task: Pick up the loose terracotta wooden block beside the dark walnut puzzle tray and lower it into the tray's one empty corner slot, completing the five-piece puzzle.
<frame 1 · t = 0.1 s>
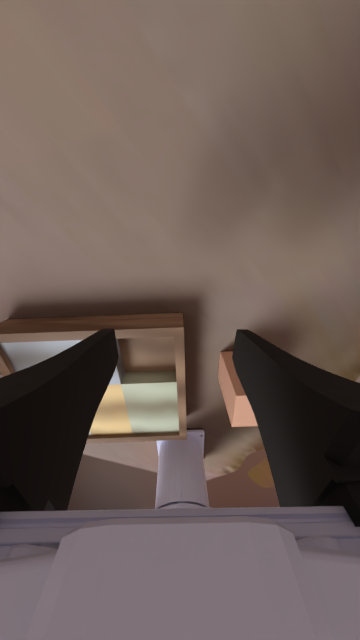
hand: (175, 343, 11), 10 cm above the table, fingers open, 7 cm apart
puzzle tray: (110, 375, 25), on the table
terracotta block: (236, 365, 25), on the table
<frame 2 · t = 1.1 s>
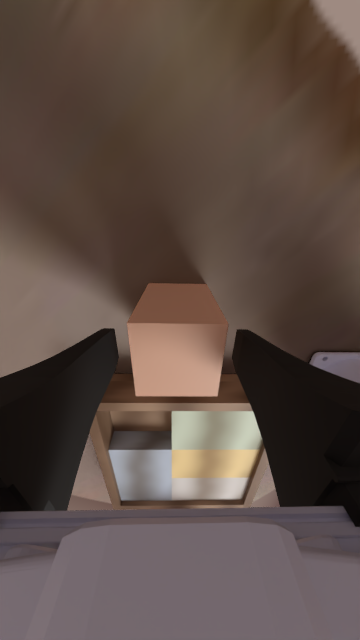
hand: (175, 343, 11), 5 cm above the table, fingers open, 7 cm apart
puzzle tray: (183, 435, 23), on the table
terracotta block: (177, 310, 16), on the table
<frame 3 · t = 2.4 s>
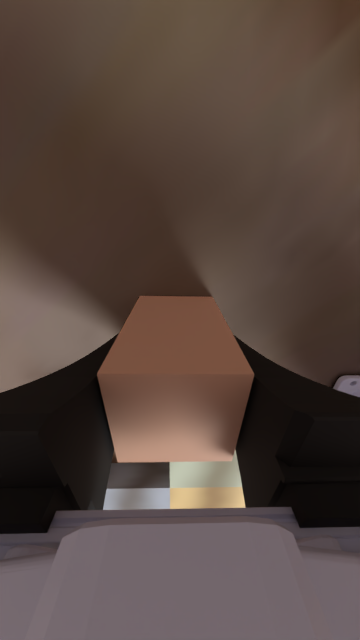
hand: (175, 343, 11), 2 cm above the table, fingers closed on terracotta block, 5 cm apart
puzzle tray: (183, 464, 20), on the table
terracotta block: (175, 328, 13), on the table, touching gripper
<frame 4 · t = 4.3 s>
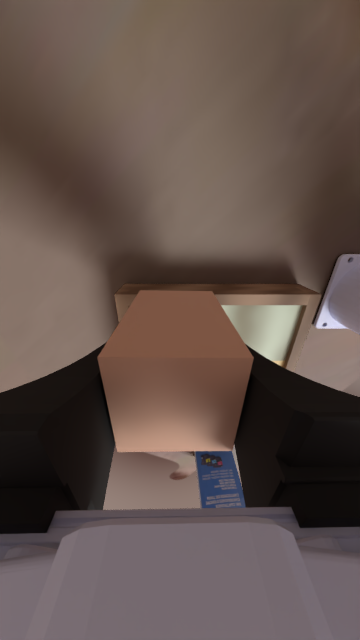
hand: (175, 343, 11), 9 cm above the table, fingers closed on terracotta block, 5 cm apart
ink cartridge box: (210, 439, 31), on the table
puzzle tray: (205, 361, 23), on the table
terracotta block: (175, 322, 13), point 7 cm above the table, touching gripper
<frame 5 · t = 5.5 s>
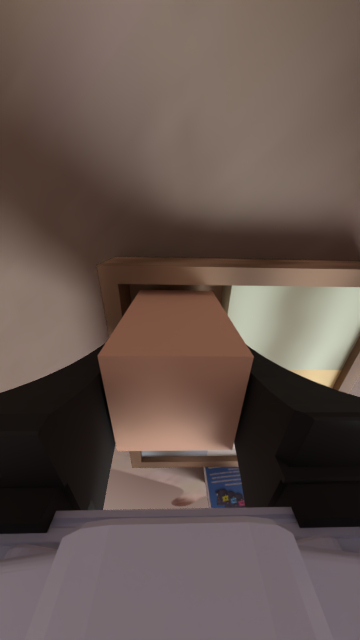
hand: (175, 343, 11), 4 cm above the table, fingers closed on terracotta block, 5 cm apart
ink cartridge box: (222, 462, 25), on the table
puzzle tray: (224, 367, 18), on the table
terracotta block: (175, 322, 13), point 2 cm above the table, touching gripper
when the fingers open (4 cm above the table, at t = 6.4 s): terracotta block drops 1 cm, resting on puzzle tray.
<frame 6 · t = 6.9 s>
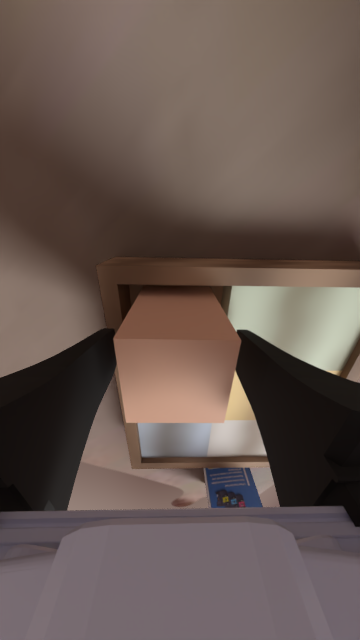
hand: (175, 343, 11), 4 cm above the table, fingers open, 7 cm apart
ink cartridge box: (223, 463, 25), on the table
puzzle tray: (224, 368, 18), on the table
terracotta block: (176, 315, 14), point 1 cm above the table, touching puzzle tray
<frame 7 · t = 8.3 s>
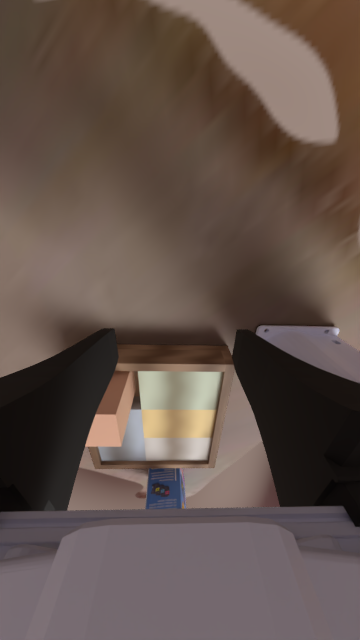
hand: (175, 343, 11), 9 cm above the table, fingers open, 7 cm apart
ink cartridge box: (169, 465, 34), on the table
puzzle tray: (155, 402, 27), on the table
terracotta block: (115, 376, 23), point 1 cm above the table, touching puzzle tray
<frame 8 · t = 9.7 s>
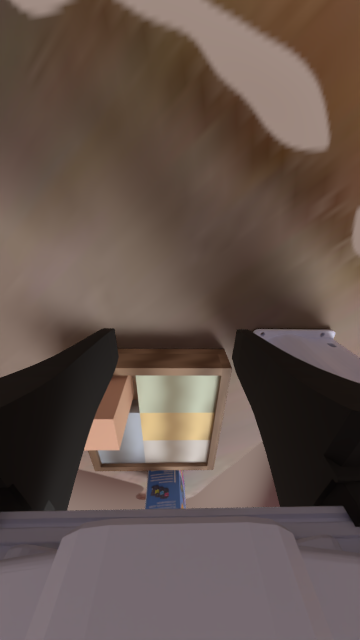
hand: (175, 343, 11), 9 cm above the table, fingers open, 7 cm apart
ink cartridge box: (168, 466, 35), on the table
puzzle tray: (154, 405, 27), on the table
terracotta block: (114, 379, 23), point 1 cm above the table, touching puzzle tray
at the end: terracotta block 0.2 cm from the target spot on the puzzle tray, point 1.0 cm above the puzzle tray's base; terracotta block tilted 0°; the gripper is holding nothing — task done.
